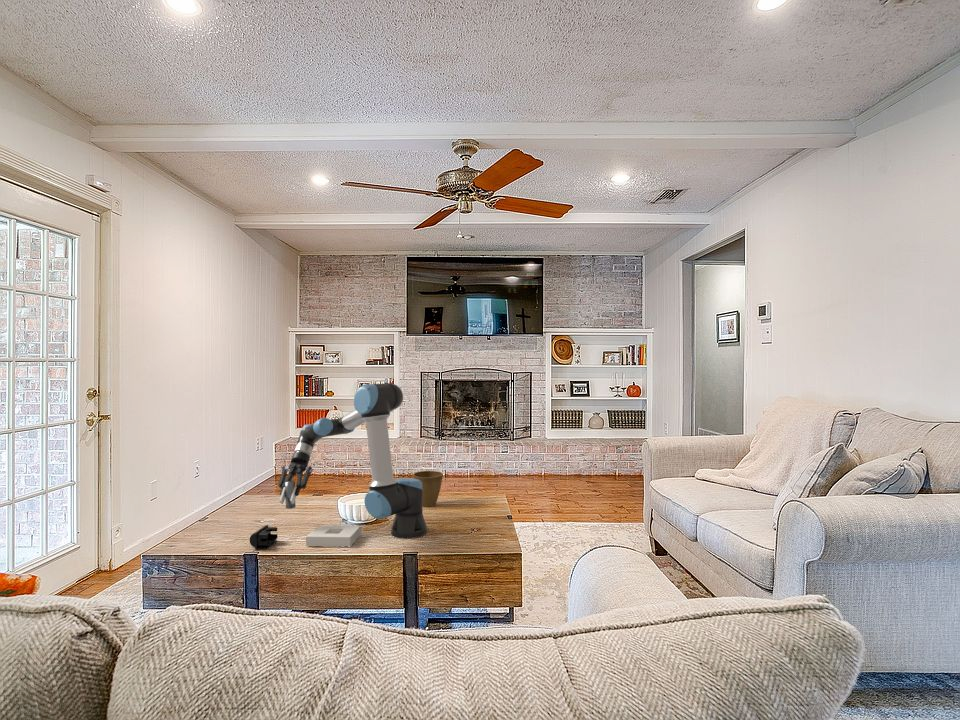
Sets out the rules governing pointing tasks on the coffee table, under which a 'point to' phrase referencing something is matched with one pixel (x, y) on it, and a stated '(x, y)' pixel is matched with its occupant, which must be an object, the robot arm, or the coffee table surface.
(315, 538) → the socket block
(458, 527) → the coffee table surface
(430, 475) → the plant pot
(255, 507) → the coffee table surface
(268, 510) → the coffee table surface
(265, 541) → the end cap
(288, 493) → the pin
